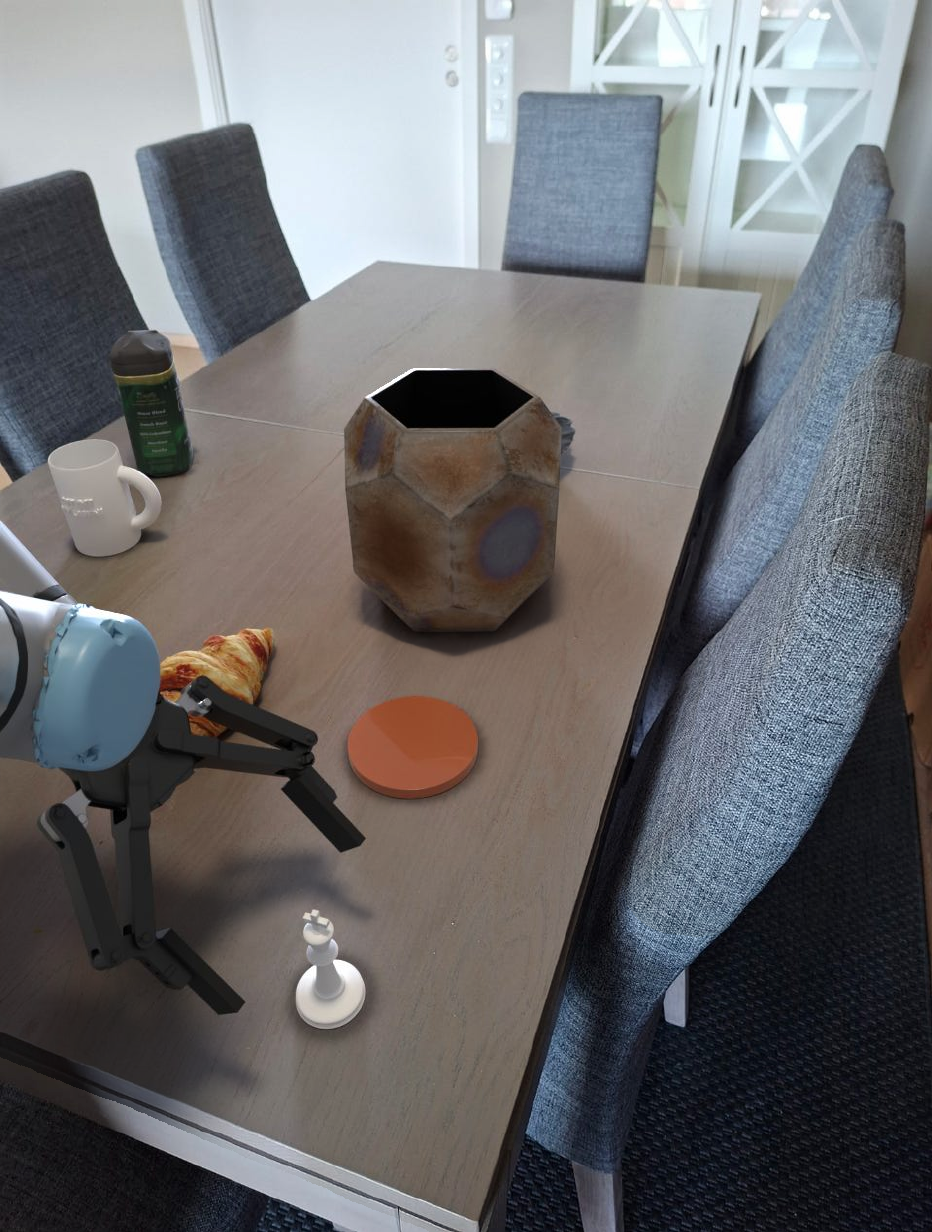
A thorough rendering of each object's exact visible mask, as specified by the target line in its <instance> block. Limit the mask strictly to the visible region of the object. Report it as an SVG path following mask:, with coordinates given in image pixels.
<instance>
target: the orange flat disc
mask: <svg viewBox="0 0 932 1232" xmlns="http://www.w3.org/2000/svg"><path fill="white" fill-rule="evenodd" d="M478 751H479V738H478V731H477V729H476V726H475V724H474V722H473V720H472V719H471V718H470V716H469V715H468V714H466V712H464V711H463V710H462V709H461V708H460V707H458V706H457V705H454V704H453V703H451V702H448V701H446V700H443V699H440V698H437V697H432V696H425V695H410V696H408V695H407V696H401V697H396V698H392V699H389V700H386V701H383V702H381V703H379V704H377V705H375V706H373V707H371V708H370V709H369V710H367V711H366V712H364V713H363V714H362V715H361V716H360V717H359V718H358V719H357V721H356V722H355V723H354V724H353V726H352V728H351V731H350V732H349V735H348V740H347V755H348V761H349V765H350V768H351V770H352V771H353V773H354V775H355V776H356V778H357V779H358V780H359V781H360V782H361V783H362V784H363V785H364V786H366V787H367V788H369V789H370V790H372V791H374V792H376V793H378V794H381V795H383V796H386V797H391V798H397V799H405V800H412V799H414V800H415V799H423V798H428V797H429V798H430V797H433V796H437V795H439V794H442V793H444V792H446V791H448V790H450V789H452V788H454V787H455V786H457V785H458V784H459V783H461V782H462V781H463V780H464V779H465V778H466V777H467V776H469V774H470V772H471V771H472V769H473V768H474V766H475V765H476V764H475V763H476V761H477V757H478V754H479V753H478Z"/></svg>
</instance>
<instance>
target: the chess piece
mask: <svg viewBox="0 0 932 1232" xmlns="http://www.w3.org/2000/svg"><path fill="white" fill-rule="evenodd" d="M302 921H303V923H306V924H305V926H304V927H303V931H302V937H303V939H304V941H305V942H306V944H307V945H308V946H307V948H306V953H305V955H306V956H305V957H306V959H307V961H308V962H309V963H310V964H311V965H312V966H311V967H310V968H309V969H307V970H306V971H305V972H304V973H303V974H302V976H301V978H300V979H299V981H298V982H297V987H296V990H295V1007H296V1010H297V1012H298V1015H299V1016H300V1018H301V1019H302V1021H304V1022H305V1023H306V1024H308V1025H309V1026H311V1027H314V1028H317V1029H321V1030H333V1029H337V1028H340V1027H342V1026H345V1025H346V1024H348V1023H349V1022H350V1021H352V1020H353V1019H354V1018H355V1017H356V1016H357V1015H358V1014H359V1013H360V1011H361V1009H362V1008H363V1006H364V1003H365V1000H366V985H365V984H366V983H365V981H364V979H363V977H362V975H361V973H360V971H359V970H358V968H357V967H355V966H354V965H353V964H351V963H350V962H347V961H345V960H341V959H336V958H337V957H338V954H339V946H338V944H337V942H336V941H335V940H334V938H333V936H334V934H335V933H334V932H335V928H334V927H335V926H334V925H333V922H332V921H331V920H330V919H329V918H326V917H323V916H321V912H320V910H318V909H312V910H311V913H309V912H304V915H303V916H302Z"/></svg>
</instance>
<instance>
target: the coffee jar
mask: <svg viewBox="0 0 932 1232" xmlns="http://www.w3.org/2000/svg"><path fill="white" fill-rule="evenodd" d="M109 360H110V365H111V371H112V374H113V377H114V381H115V384H116V388H117V391H118V395H119V399H120V403H121V408H122V411H123V415H124V420H125V423H126V427H127V432H128V435H129V440H130V445H131V449H132V453H133V457H134V462H135V465H136V470H137V471H139V472H141V473H142V474H144V475H146V476H155V477H168V476H171V475H173V474H177V473H180V472H184V471H186V470H188V468H189V467H190V466H191V463H192V461H193V457H194V449H193V444H192V440H191V435H190V429H189V425H188V421H187V417H186V416H187V415H186V412H185V407H184V402H183V397H182V392H181V387H180V383H179V378H178V377H179V376H178V372H177V368H176V362H175V357H174V353H173V348H172V346H171V341H170V339H169V338H168V337H167V336H166V335H164V334H163V333H161V332H159V331H158V330H157V329H143V330H141V329H140V330H128V331H127V332H125V334H124V335H122V336H121V337H119V338H118V339H117V340H116V341H115V342H114V344H113V345H112V347H111V349H110V352H109Z"/></svg>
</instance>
